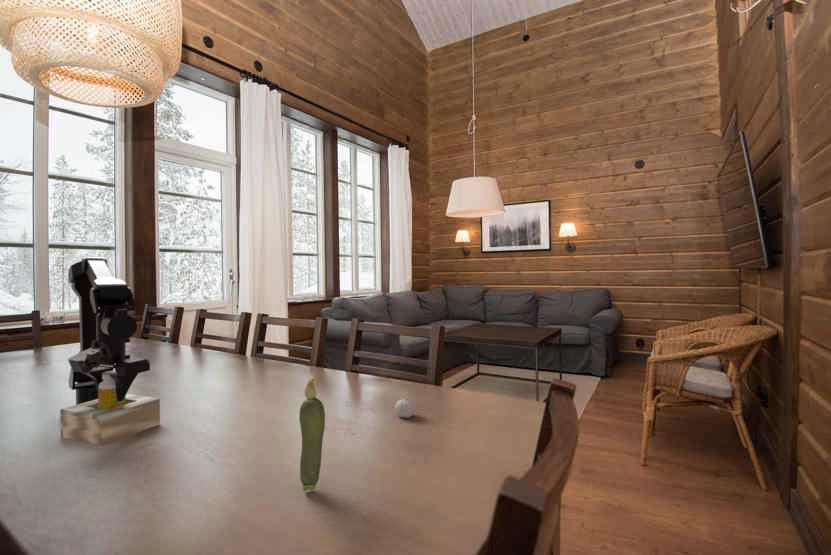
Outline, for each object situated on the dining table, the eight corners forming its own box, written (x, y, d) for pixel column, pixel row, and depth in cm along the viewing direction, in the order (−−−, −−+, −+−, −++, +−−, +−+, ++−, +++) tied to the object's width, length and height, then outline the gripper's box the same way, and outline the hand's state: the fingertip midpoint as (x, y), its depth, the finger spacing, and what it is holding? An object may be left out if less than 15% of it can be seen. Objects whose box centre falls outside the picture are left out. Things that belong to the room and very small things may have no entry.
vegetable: (302, 483, 78) (301, 373, 78) (326, 482, 78) (326, 373, 78) (297, 496, 74) (297, 380, 73) (323, 495, 74) (323, 379, 74)
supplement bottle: (111, 417, 101) (111, 376, 100) (92, 415, 102) (92, 374, 101) (130, 409, 106) (131, 370, 106) (112, 407, 107) (113, 368, 107)
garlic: (420, 416, 114) (420, 397, 114) (406, 422, 110) (406, 401, 110) (404, 411, 118) (404, 392, 118) (390, 416, 114) (390, 397, 114)
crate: (60, 437, 99) (60, 409, 99) (119, 417, 113) (119, 392, 113) (103, 445, 95) (102, 416, 95) (159, 424, 108) (159, 398, 108)
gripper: (47, 337, 99) (48, 405, 99) (104, 342, 93) (105, 415, 93) (97, 331, 109) (98, 392, 110) (151, 335, 103) (152, 400, 103)
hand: (111, 399), depth 104 cm, fingers closed on supplement bottle, 5 cm apart
